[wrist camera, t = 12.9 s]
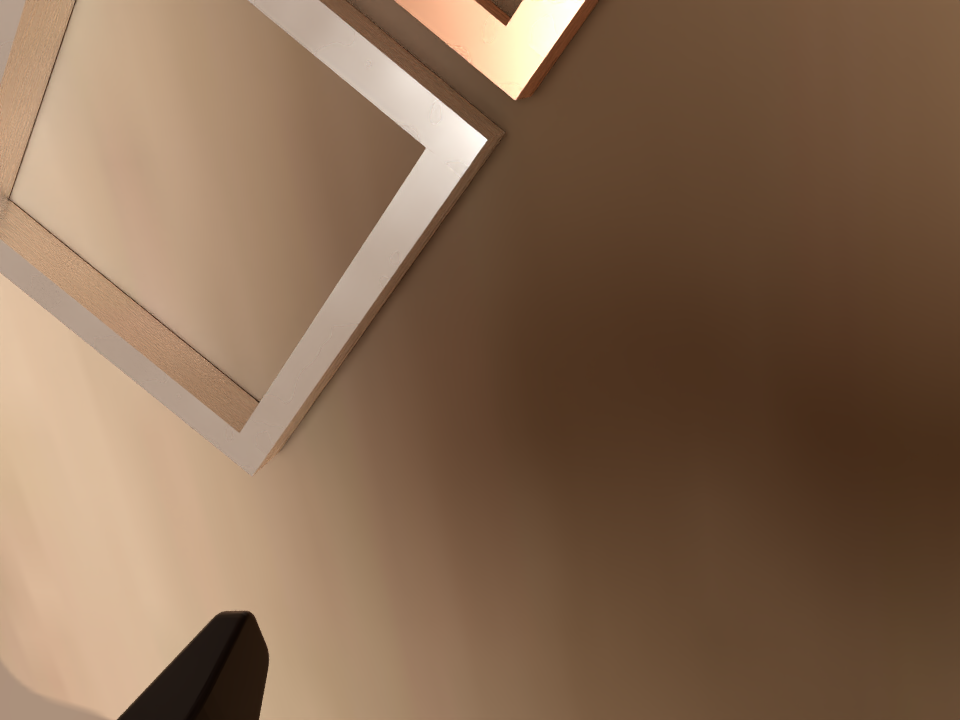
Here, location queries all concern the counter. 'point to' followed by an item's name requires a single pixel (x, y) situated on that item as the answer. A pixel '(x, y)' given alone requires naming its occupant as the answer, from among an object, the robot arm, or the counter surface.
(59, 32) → the socket rail
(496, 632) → the counter surface
